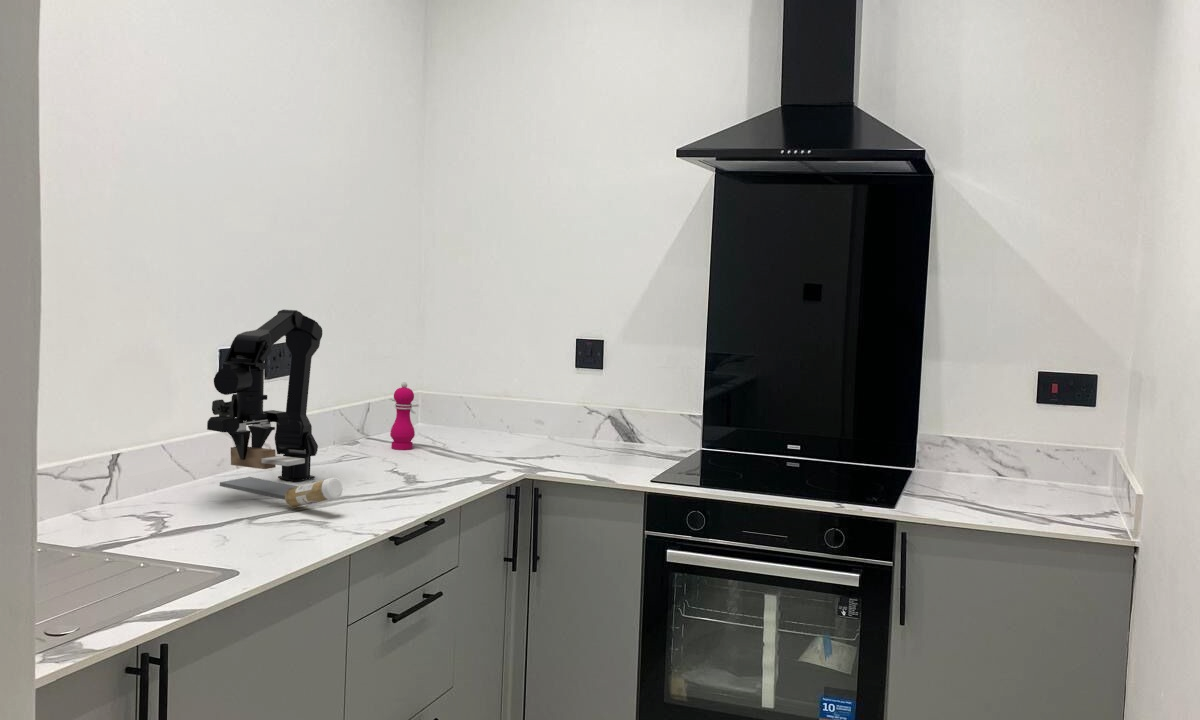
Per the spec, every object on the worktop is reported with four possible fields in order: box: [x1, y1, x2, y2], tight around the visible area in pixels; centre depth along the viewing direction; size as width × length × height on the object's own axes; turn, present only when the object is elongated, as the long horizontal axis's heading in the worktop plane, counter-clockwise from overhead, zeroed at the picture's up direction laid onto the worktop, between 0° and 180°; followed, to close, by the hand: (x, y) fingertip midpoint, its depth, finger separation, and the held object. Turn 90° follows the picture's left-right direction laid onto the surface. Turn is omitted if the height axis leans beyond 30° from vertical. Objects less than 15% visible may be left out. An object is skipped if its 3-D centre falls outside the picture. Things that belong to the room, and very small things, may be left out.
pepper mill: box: [389, 382, 416, 451], centre depth 297 cm, size 7×7×20 cm
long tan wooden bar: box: [230, 446, 305, 470], centre depth 221 cm, size 19×5×4 cm, turn 61°
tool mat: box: [219, 476, 300, 500], centre depth 233 cm, size 9×23×1 cm, turn 61°
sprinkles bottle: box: [284, 477, 344, 509], centre depth 214 cm, size 5×5×14 cm
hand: (248, 458), depth 223 cm, fingers closed on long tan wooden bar, 3 cm apart
